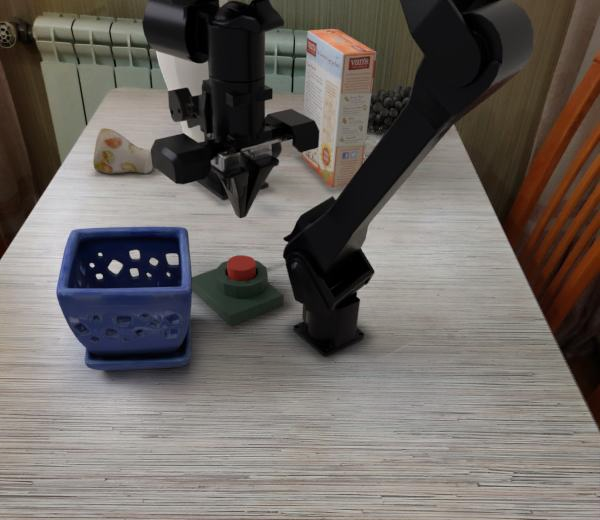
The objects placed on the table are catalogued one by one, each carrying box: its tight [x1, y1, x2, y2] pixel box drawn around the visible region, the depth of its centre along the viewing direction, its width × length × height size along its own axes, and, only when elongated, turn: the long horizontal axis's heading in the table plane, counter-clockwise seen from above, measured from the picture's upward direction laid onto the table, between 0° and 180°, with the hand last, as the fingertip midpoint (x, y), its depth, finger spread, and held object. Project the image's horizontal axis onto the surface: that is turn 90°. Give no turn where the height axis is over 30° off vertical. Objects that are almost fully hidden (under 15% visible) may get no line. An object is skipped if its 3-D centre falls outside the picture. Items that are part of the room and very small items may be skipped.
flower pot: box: [55, 226, 193, 371], centre depth 67 cm, size 13×13×12 cm
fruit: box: [367, 85, 412, 133], centre depth 120 cm, size 9×8×15 cm
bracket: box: [196, 133, 269, 201], centre depth 99 cm, size 12×9×11 cm
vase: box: [155, 0, 229, 143], centre depth 103 cm, size 15×15×29 cm
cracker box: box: [301, 28, 377, 188], centre depth 100 cm, size 14×6×21 cm, turn 22°
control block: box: [192, 259, 284, 327], centre depth 78 cm, size 10×8×4 cm
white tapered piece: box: [92, 127, 154, 175], centre depth 102 cm, size 8×10×10 cm
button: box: [226, 254, 256, 281], centre depth 76 cm, size 4×4×2 cm
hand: (240, 216), depth 72 cm, fingers closed
